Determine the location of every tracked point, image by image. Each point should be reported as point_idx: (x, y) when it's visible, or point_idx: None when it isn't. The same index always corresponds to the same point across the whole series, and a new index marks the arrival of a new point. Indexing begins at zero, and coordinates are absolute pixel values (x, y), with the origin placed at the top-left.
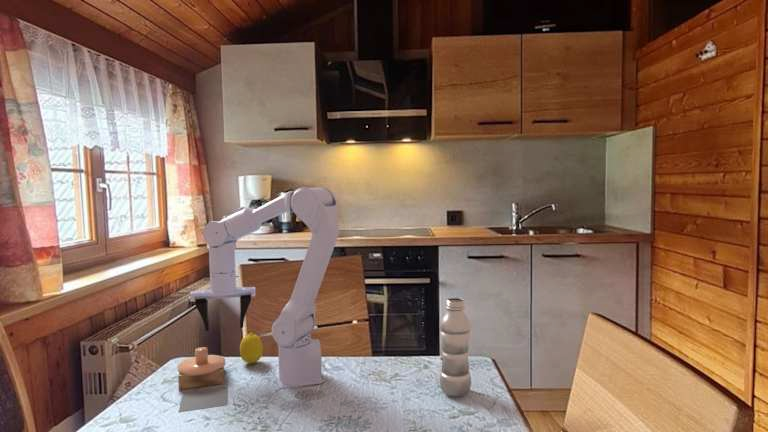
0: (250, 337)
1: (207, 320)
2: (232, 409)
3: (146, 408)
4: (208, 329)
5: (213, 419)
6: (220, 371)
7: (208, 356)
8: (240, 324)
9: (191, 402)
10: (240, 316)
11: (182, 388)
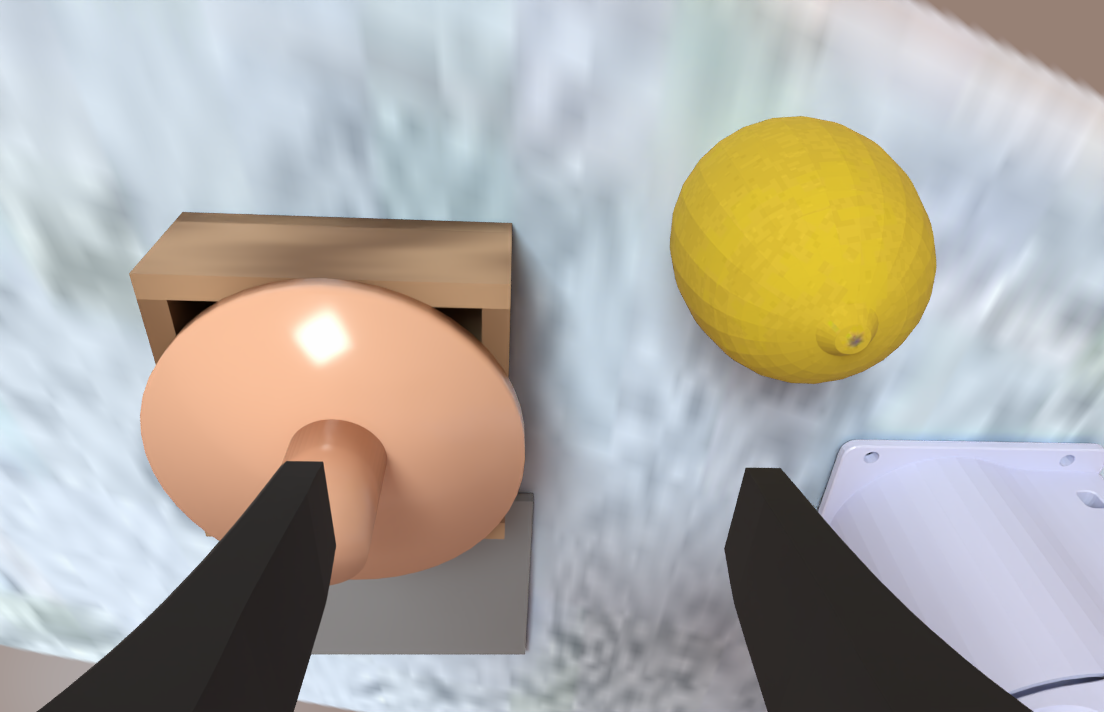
0: (817, 370)
1: (295, 702)
2: (545, 665)
3: (123, 569)
4: (330, 571)
5: (467, 703)
6: (489, 536)
7: (373, 340)
8: (738, 597)
9: (350, 602)
10: (775, 677)
11: None
